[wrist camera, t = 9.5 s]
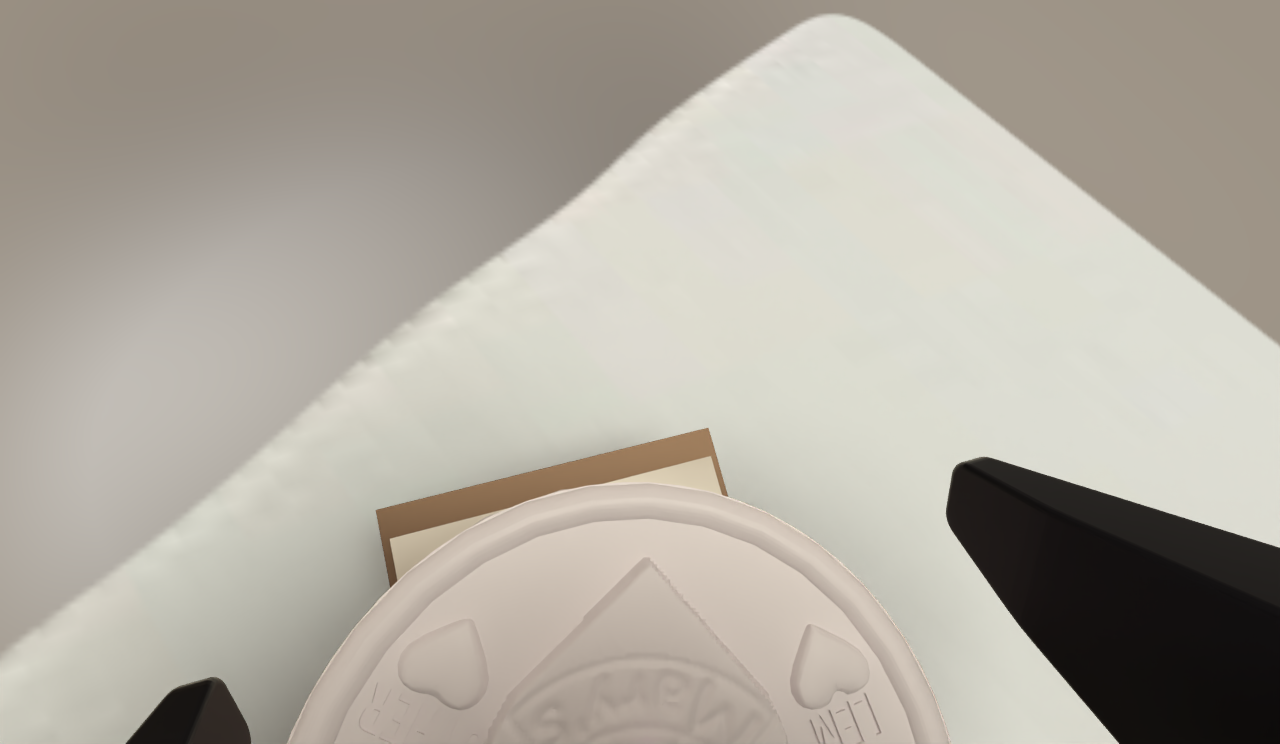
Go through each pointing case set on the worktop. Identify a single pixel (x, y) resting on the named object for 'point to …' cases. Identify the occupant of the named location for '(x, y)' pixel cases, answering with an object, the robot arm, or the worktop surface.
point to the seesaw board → (541, 493)
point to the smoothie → (625, 635)
